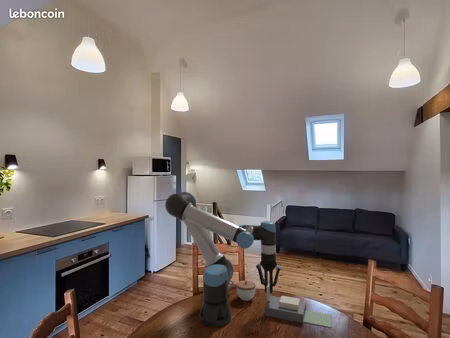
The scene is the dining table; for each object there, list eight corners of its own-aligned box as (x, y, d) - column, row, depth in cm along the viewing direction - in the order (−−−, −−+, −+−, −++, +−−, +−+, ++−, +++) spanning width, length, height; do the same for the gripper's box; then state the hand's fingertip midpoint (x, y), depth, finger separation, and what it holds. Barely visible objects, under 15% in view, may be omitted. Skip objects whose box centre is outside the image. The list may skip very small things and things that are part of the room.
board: (264, 315, 127) (264, 306, 127) (270, 303, 139) (270, 295, 139) (303, 323, 120) (302, 314, 120) (305, 309, 132) (305, 301, 132)
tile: (279, 306, 127) (279, 301, 127) (281, 300, 134) (281, 295, 134) (298, 310, 124) (298, 305, 124) (300, 303, 130) (299, 298, 130)
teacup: (208, 290, 154) (208, 277, 154) (221, 285, 162) (221, 272, 162) (225, 298, 145) (225, 283, 145) (238, 291, 153) (238, 278, 153)
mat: (303, 322, 121) (303, 321, 121) (305, 310, 131) (305, 310, 131) (331, 327, 116) (331, 327, 116) (331, 315, 126) (331, 314, 126)
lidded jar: (253, 304, 138) (253, 286, 138) (233, 301, 141) (233, 283, 142) (257, 295, 148) (257, 278, 149) (239, 292, 152) (238, 276, 152)
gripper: (282, 251, 135) (283, 298, 134) (258, 249, 140) (258, 293, 139) (279, 255, 128) (280, 304, 127) (254, 252, 133) (254, 300, 132)
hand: (268, 298), depth 133 cm, fingers closed
